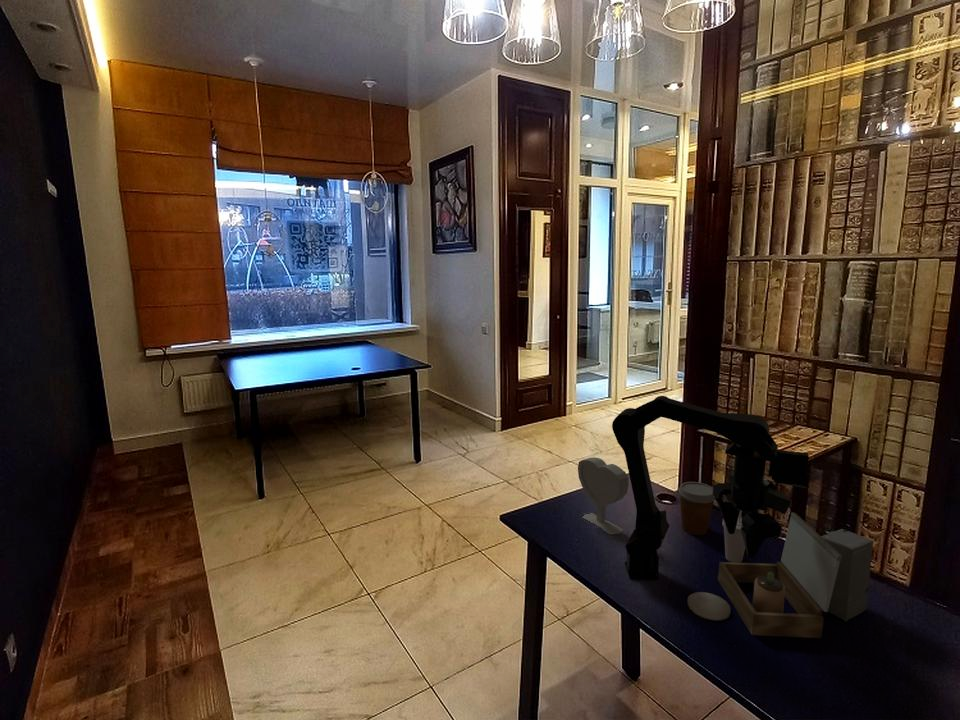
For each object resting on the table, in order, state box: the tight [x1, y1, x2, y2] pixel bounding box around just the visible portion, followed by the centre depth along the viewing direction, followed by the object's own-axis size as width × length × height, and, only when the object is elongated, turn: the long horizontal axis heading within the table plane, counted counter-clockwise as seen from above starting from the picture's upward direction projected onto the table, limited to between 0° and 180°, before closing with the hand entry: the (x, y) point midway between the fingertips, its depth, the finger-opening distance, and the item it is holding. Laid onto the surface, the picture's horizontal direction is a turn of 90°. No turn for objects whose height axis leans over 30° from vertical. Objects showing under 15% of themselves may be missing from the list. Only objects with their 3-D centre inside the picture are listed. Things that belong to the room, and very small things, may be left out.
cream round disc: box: [686, 591, 732, 621], centre depth 110 cm, size 8×8×1 cm
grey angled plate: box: [780, 512, 842, 613], centre depth 107 cm, size 12×17×1 cm
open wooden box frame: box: [717, 561, 825, 639], centre depth 108 cm, size 16×18×12 cm
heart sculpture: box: [577, 457, 630, 535], centre depth 144 cm, size 16×5×18 cm, turn 34°
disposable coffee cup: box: [678, 481, 716, 536], centre depth 140 cm, size 10×10×12 cm
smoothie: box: [721, 510, 746, 563], centre depth 126 cm, size 6×6×14 cm
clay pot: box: [751, 572, 786, 613], centre depth 107 cm, size 6×6×9 cm
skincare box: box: [815, 528, 874, 622], centre depth 108 cm, size 8×7×16 cm
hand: (740, 545), depth 110 cm, fingers open, 9 cm apart
